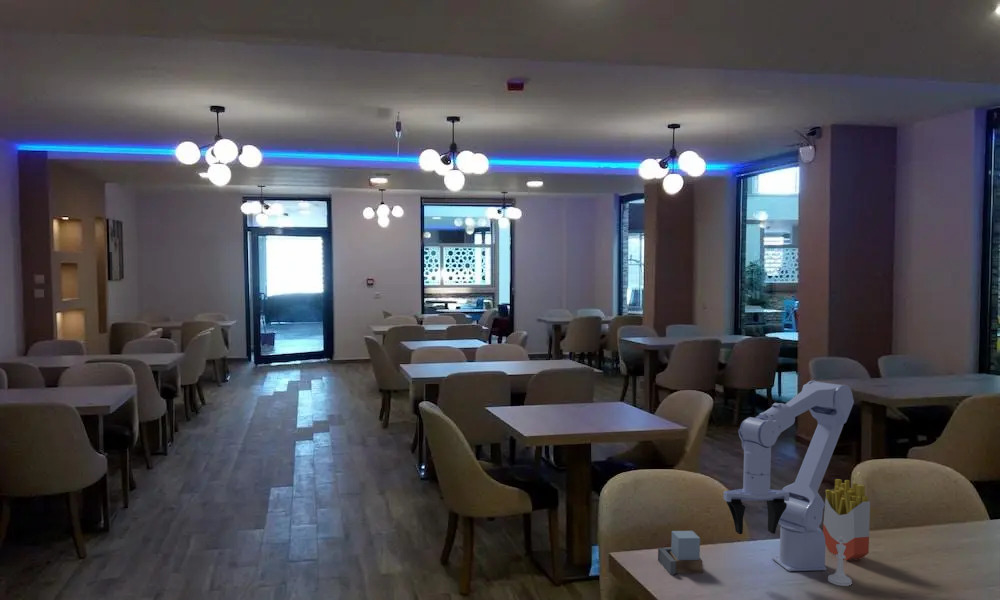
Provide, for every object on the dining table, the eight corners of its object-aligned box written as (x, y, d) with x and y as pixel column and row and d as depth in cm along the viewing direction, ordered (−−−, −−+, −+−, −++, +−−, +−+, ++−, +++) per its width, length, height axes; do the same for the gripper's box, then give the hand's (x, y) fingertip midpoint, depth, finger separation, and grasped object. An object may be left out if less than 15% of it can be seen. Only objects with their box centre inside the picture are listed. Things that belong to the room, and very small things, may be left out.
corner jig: (693, 559, 179) (693, 547, 178) (707, 573, 170) (708, 560, 170) (657, 560, 178) (658, 547, 178) (670, 574, 169) (670, 561, 169)
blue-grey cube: (692, 552, 176) (692, 530, 176) (699, 559, 171) (700, 538, 171) (671, 552, 176) (671, 531, 175) (678, 560, 171) (678, 538, 170)
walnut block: (695, 564, 176) (695, 551, 176) (702, 574, 170) (702, 561, 170) (669, 564, 176) (669, 551, 176) (675, 573, 170) (675, 560, 170)
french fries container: (852, 565, 177) (854, 488, 177) (821, 549, 188) (823, 477, 187) (868, 563, 178) (870, 487, 178) (836, 547, 189) (839, 476, 188)
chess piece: (854, 587, 164) (856, 541, 164) (830, 584, 165) (831, 539, 165) (848, 578, 169) (850, 534, 169) (825, 576, 170) (826, 532, 170)
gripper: (779, 467, 173) (777, 526, 173) (718, 468, 172) (717, 527, 172) (794, 475, 166) (792, 536, 166) (731, 475, 165) (729, 537, 165)
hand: (755, 532), depth 169 cm, fingers open, 7 cm apart
